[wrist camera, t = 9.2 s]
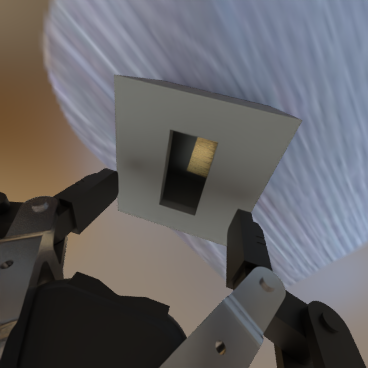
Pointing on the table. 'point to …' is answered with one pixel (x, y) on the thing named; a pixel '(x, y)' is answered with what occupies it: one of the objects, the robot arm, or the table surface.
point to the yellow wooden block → (202, 157)
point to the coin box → (182, 151)
